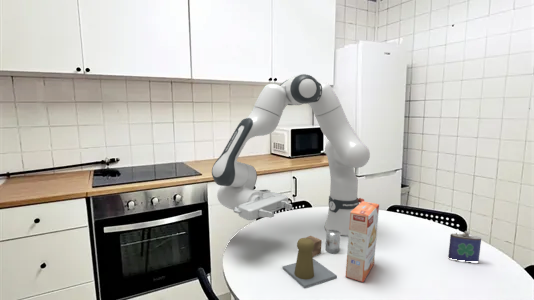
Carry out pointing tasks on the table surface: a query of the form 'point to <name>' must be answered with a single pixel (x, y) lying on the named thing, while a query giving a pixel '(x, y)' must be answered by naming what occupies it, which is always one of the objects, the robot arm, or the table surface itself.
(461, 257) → the flask
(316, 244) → the walnut block
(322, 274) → the coaster
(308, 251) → the olive pawn piece
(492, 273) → the table surface
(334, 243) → the grey tin
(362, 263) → the cracker box
